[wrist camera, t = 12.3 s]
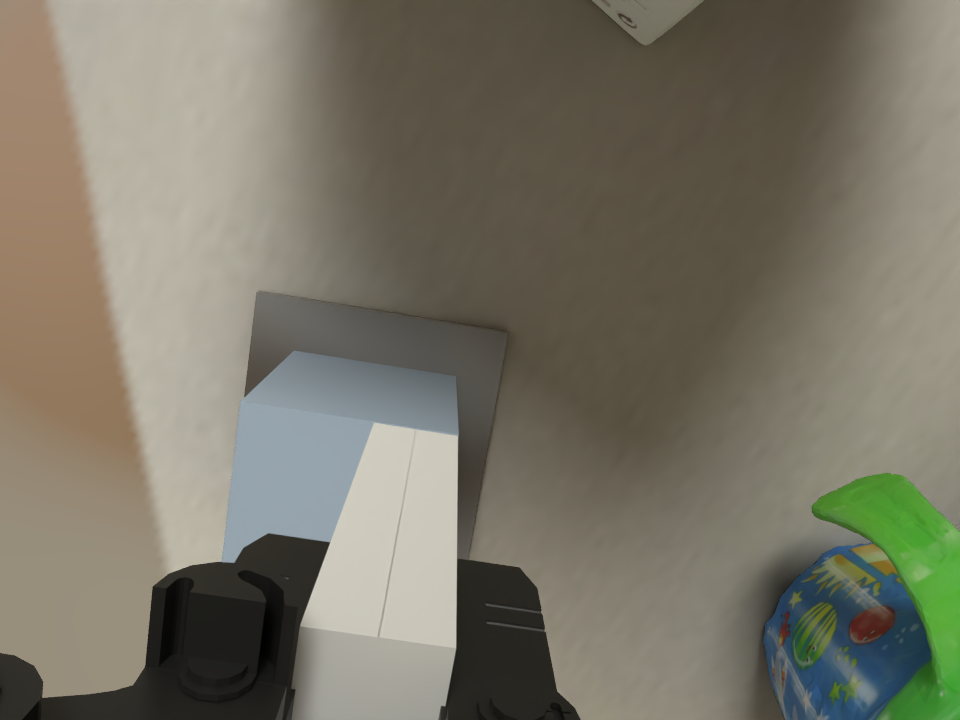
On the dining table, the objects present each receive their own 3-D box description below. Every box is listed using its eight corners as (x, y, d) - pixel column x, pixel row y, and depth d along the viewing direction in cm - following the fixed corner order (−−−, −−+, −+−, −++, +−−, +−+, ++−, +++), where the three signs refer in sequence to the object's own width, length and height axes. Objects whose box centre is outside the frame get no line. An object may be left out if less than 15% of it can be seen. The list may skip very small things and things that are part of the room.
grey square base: (259, 290, 25) (211, 312, 20) (507, 331, 26) (522, 362, 20) (231, 525, 26) (180, 602, 21) (466, 558, 27) (471, 640, 22)
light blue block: (294, 350, 25) (240, 401, 19) (456, 376, 25) (458, 434, 19) (274, 503, 26) (216, 602, 19) (430, 526, 26) (425, 630, 20)
